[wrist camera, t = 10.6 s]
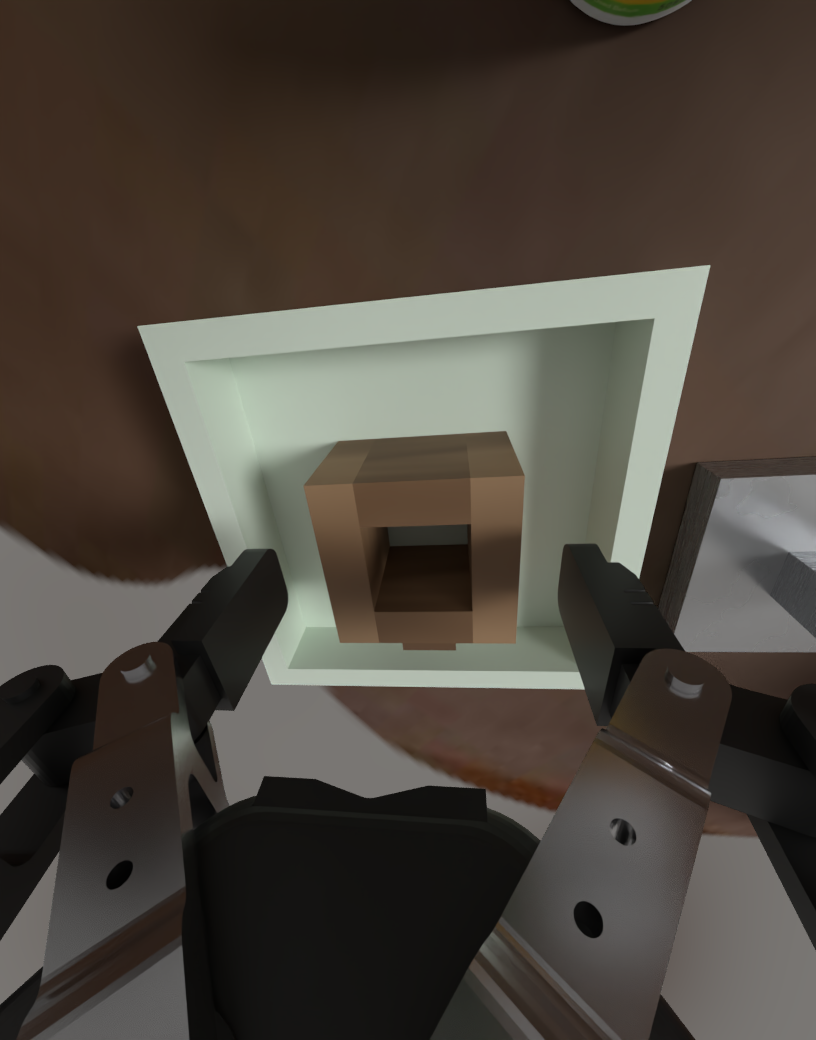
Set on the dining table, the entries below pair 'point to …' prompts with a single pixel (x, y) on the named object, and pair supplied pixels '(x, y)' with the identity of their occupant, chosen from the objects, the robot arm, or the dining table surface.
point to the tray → (437, 411)
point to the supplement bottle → (628, 10)
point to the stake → (746, 559)
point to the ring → (424, 568)
